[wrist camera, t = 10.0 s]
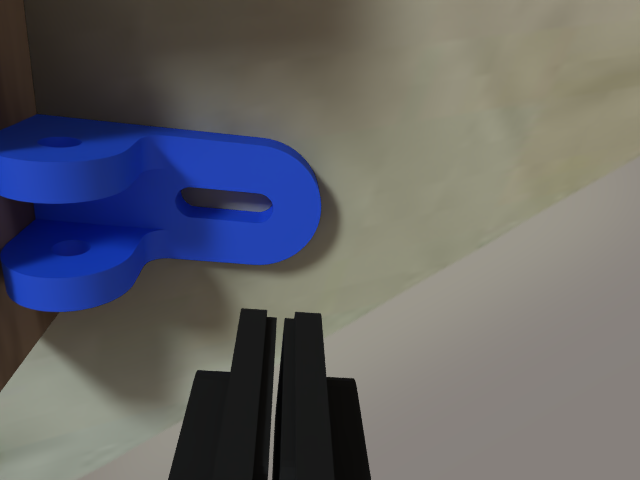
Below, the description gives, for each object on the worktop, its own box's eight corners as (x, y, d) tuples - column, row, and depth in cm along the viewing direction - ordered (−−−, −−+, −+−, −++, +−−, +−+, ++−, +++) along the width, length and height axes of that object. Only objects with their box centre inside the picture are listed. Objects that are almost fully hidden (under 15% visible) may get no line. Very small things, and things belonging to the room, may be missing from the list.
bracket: (53, 234, 34) (-21, 307, 26) (38, 113, 30) (-52, 153, 22) (311, 255, 36) (319, 329, 28) (326, 144, 32) (340, 190, 24)
